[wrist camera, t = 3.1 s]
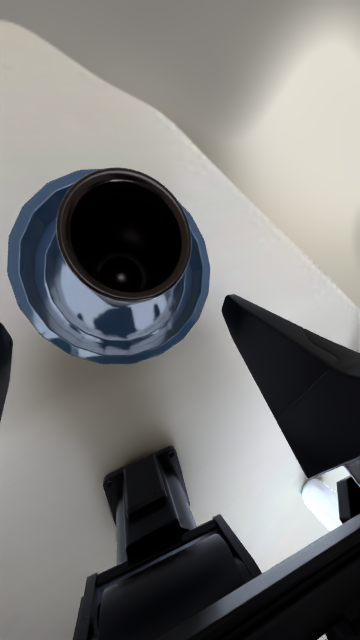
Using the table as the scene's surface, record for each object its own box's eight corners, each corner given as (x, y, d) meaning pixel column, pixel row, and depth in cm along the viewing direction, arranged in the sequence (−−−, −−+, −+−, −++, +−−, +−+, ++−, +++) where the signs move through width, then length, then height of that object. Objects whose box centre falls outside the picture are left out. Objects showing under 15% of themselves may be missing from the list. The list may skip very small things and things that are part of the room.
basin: (200, 328, 20) (224, 334, 15) (64, 370, 16) (46, 391, 12) (170, 198, 18) (188, 164, 14) (14, 213, 15) (-27, 174, 10)
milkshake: (318, 459, 25) (441, 550, 16) (328, 494, 26) (450, 599, 17) (291, 481, 24) (406, 593, 15) (302, 516, 25) (418, 644, 15)
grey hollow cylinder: (158, 270, 18) (213, 222, 8) (131, 316, 17) (155, 326, 7) (109, 239, 16) (103, 134, 7) (79, 287, 16) (23, 252, 6)
